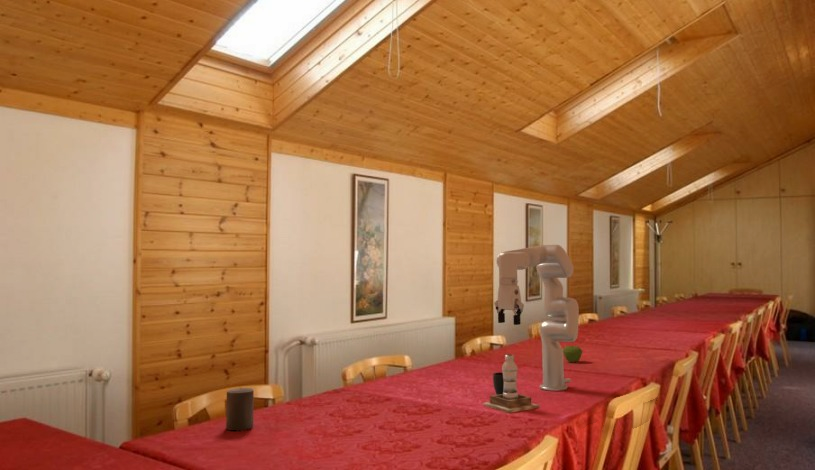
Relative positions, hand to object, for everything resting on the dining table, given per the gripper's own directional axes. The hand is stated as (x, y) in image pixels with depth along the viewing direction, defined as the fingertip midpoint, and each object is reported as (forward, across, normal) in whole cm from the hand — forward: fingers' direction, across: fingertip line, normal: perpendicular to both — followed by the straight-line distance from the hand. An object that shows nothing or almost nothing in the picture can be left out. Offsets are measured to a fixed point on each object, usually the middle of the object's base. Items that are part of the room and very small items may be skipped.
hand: (509, 323), depth 257 cm
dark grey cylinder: (+34, +31, +103) cm, 113 cm away
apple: (+35, +63, -102) cm, 125 cm away
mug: (+34, +16, -11) cm, 39 cm away
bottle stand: (+34, 0, 0) cm, 34 cm away
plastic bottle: (+33, 0, 0) cm, 33 cm away
